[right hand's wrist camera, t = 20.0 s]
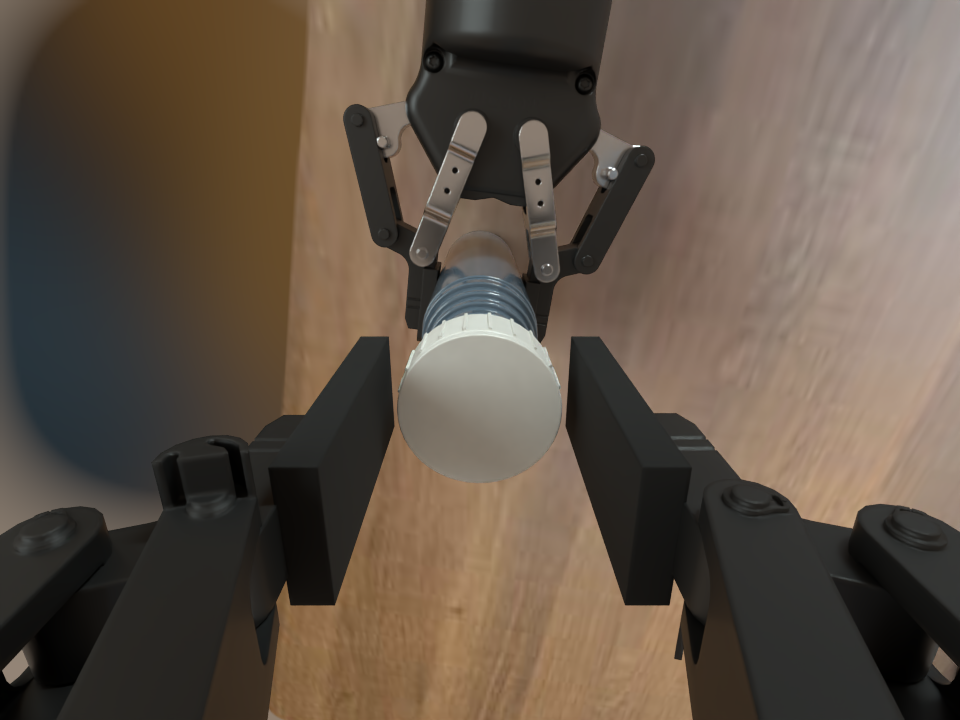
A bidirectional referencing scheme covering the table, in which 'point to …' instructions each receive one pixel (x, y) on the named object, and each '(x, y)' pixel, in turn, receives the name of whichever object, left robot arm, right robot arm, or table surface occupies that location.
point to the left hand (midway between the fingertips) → (473, 341)
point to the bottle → (480, 284)
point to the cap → (479, 399)
